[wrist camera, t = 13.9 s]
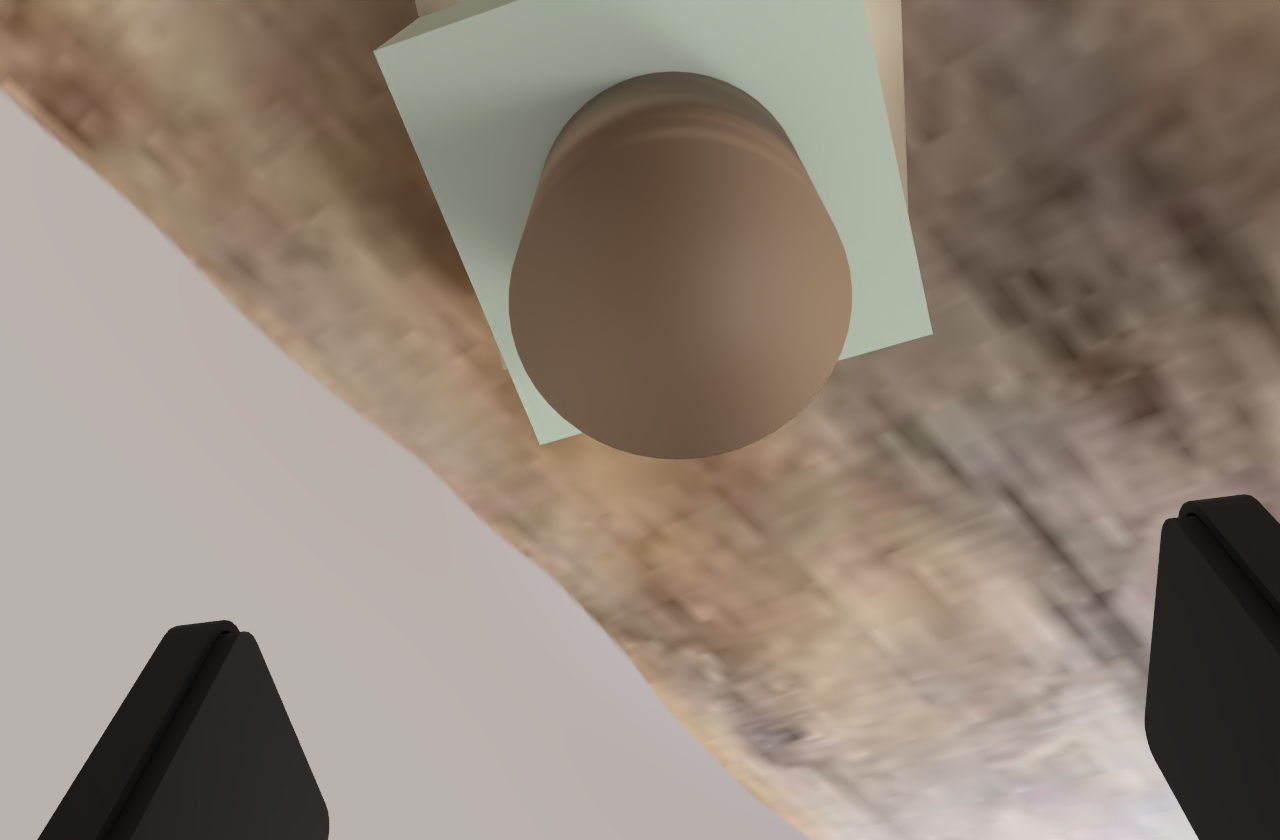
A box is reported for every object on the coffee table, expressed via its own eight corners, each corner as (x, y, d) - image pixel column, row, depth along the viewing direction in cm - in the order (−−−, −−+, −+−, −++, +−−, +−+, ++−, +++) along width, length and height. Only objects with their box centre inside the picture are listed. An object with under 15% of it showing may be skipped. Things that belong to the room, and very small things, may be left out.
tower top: (805, -120, 25) (839, -113, 21) (890, 261, 30) (932, 334, 25) (418, 17, 27) (373, 51, 22) (555, 360, 31) (539, 444, 27)
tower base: (857, -156, 29) (895, -158, 25) (878, 254, 35) (911, 313, 30) (433, -83, 30) (397, -72, 26) (520, 306, 36) (503, 370, 31)
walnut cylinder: (796, 52, 22) (845, 115, 17) (812, 316, 25) (858, 439, 20) (515, 91, 23) (476, 164, 17) (562, 345, 25) (541, 476, 20)
